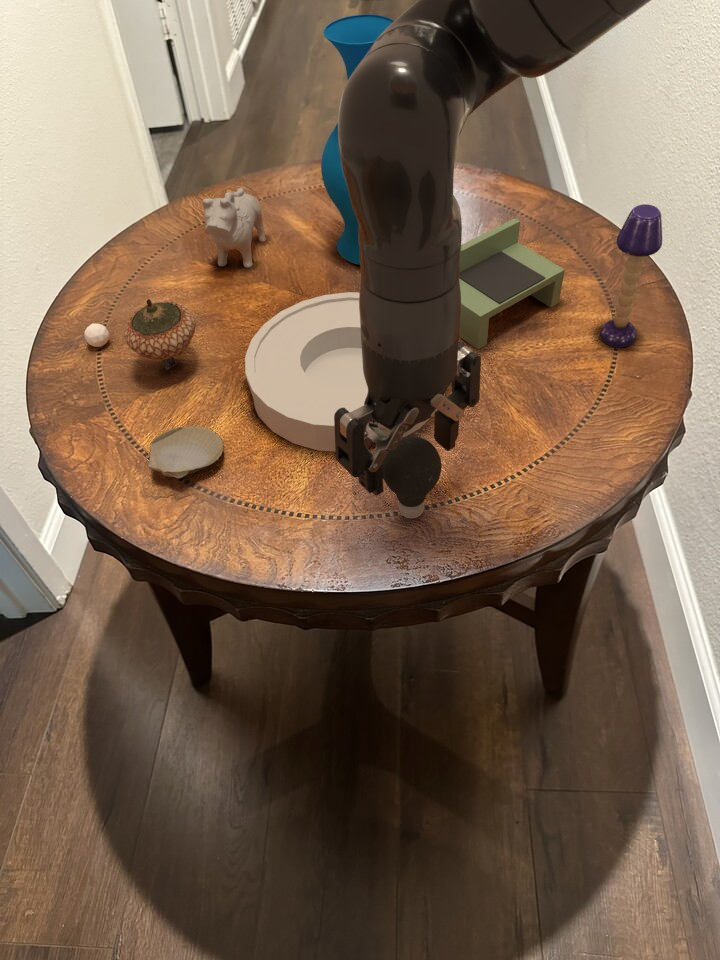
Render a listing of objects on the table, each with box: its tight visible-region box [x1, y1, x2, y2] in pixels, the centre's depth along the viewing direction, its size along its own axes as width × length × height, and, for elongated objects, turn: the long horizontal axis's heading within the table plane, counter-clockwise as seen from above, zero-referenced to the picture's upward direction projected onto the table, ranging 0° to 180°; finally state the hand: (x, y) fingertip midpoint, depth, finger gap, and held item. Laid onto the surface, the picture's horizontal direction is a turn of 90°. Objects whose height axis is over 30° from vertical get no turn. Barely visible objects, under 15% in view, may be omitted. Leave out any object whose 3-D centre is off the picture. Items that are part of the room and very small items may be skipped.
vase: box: [320, 14, 395, 266], centre depth 94 cm, size 12×13×28 cm
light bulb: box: [381, 435, 443, 519], centre depth 70 cm, size 6×6×10 cm
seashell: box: [147, 425, 225, 479], centre depth 80 cm, size 8×3×8 cm
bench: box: [459, 217, 566, 351], centre depth 92 cm, size 14×9×8 cm, turn 127°
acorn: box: [123, 298, 197, 370], centre depth 87 cm, size 8×8×10 cm
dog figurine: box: [202, 187, 267, 269], centre depth 102 cm, size 5×13×11 cm, turn 169°
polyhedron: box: [83, 322, 110, 348], centre depth 93 cm, size 3×3×3 cm
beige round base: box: [244, 291, 447, 453], centre depth 86 cm, size 23×23×4 cm
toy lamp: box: [599, 203, 663, 348], centre depth 83 cm, size 5×5×17 cm
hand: (409, 466), depth 69 cm, fingers open, 8 cm apart
